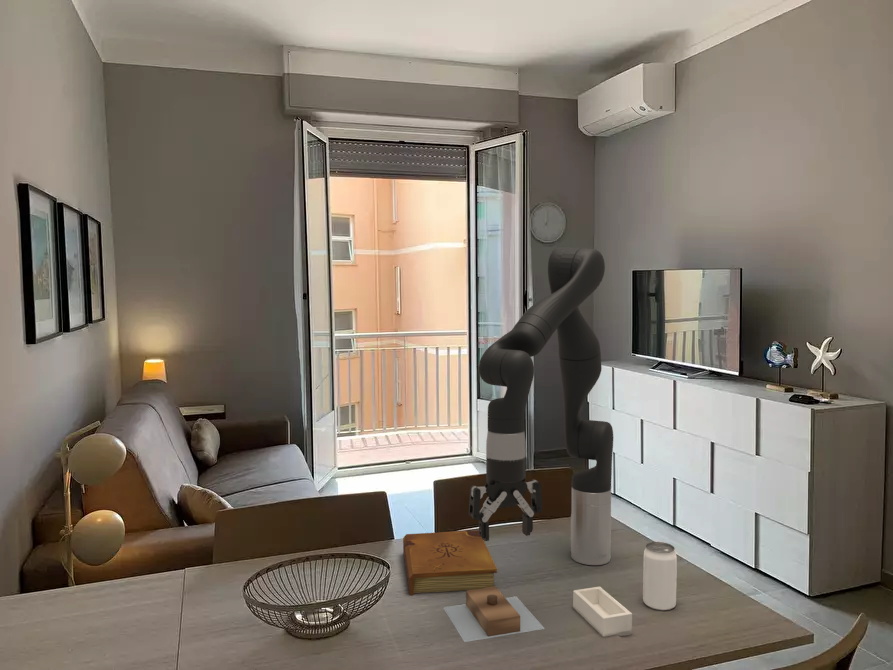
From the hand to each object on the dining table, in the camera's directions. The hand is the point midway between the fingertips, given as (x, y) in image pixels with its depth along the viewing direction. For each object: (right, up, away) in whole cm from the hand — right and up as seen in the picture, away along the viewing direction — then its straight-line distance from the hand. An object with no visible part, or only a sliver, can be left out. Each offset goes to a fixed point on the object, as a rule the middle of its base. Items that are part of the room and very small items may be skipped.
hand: (505, 537), depth 130 cm
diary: (-11, -16, +25) cm, 32 cm away
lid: (-2, -17, +3) cm, 17 cm away
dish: (+19, -17, +2) cm, 25 cm away
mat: (-2, -17, +3) cm, 17 cm away
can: (+32, -17, +9) cm, 37 cm away
